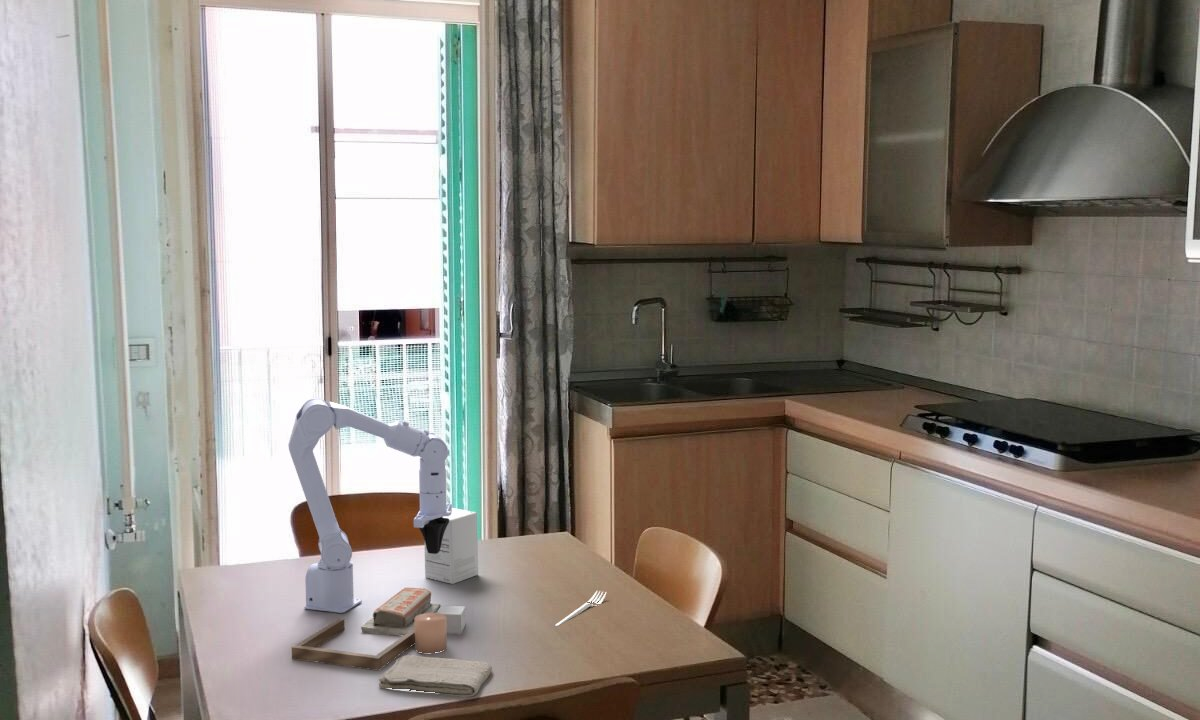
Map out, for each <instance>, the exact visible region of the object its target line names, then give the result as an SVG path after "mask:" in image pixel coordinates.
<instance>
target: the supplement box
mask: <svg viewBox="0 0 1200 720" xmlns="http://www.w3.org/2000/svg"><path fill="white" fill-rule="evenodd" d="M443 518H448V519H449V524H448V525H447V527H446V530H445V532H444V535H443V539H442V544H441V548H440V552H439V553H437V554H431V553H428V551H427V547H426V544H425V540H424V539H423V540H424V577H426V579H429V578H430V579H431V580H433V579H434V581H438V582H442V583H448V584H451V585H455V584H457V583H459V582H461V581H462V582H463V581H465V580H467V579H470V578H473V577H475V576H478V575H479V546H478V545H479V543H478V541H479V540H478V539H479V538H478V512H476V511H472V510H471V511H470V510H465V509H461V508H457V507H452V512H451V515H450V516H444V517H443Z"/></svg>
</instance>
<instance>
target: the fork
mask: <svg viewBox="0 0 1200 720" xmlns="http://www.w3.org/2000/svg"><path fill="white" fill-rule="evenodd" d="M603 593H604V591H603V590H602V591H601V590H599V591H598V590H596V591H595V592H594V594H593V595H592V596H591V598H589V600H588V601H587V602H590V603H591V601H592V603H593V602H594V603H596V604H600V605H601V604H602V602H603V603H604V600H605V598H606V595H607V591H605V593H604V594H603ZM598 601H599V602H598ZM587 602H585V603H584V604H582V605H581V606H580V607H579V608H577V609H575V610H574V611H572V612H571V613H570V614H569V615H567V616H565V618H563V619H561V620H560V621H559V622H557V623H556V624H554V626H556V627H558V626H560V625H562V624H563V623H565V622H567V621H569V620H570V619H572V618H574V617H576V616H577V615H579V614H581V613H582V612H583V611H585V610H587V609H588V608H589V607H592V608H594V607H593V606H595V607H597V605H593V604H590V603H587ZM597 602H598V603H597Z"/></svg>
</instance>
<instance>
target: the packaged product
mask: <svg viewBox="0 0 1200 720" xmlns="http://www.w3.org/2000/svg"><path fill="white" fill-rule="evenodd" d="M431 601H432V592H431V591H430V590H429V589H427V588H421V587H404V588H402V589H401V590H399V592H396V594H394V595H393V596H392V597H390V598H389V599H387V600H386V601H385V602H384V603H383V604H382V605H379V607H377V608H376V609H375V610H374V611H373V614H372V618H370V619H369V620H368V621H367V622H365V623H364V624H362V625H361V626H360V629H361V633H365V632H367V634H368V633H369V634H375V633H380V634H379V635H386V634H390V635H389V636H398V635H403V636H404V635H405V634H407V633H408V632H410V631H411V630H412V629H414V628H415V623H414V618H415V617H416V616H418V615H420V614H424V613H436V612H437V611H438V610H439V609H438V608H439V607H440V606H441V604H440V603H439V604H438V603H431ZM437 609H438V610H437Z"/></svg>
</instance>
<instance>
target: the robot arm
mask: <svg viewBox="0 0 1200 720" xmlns="http://www.w3.org/2000/svg"><path fill="white" fill-rule="evenodd" d="M332 427H333V428H334V429H335V430H340V429H344V428H347V427H349V428H352V429H356V430H357V431H358V430H359V431H361V432H364V433H366V434H370V435H372V436H375V437H379V438H381V439H383V440H384V442H385V443H384V444H385V445H386V447H388V448H391V449H393V450H395V451H398V452H401V453H403V454H407V455H409V456H412V457H420V458H419V471H418V477H419V478H418V479H419V481H418V482H419V488H418V489H419V511H418V512H417V514H416V516H415V517H414V518H413V528H417V529H418V528H419V529H418V530H420V533H421V535H422V537H423V540H425V544H426V547H427V551H428V553H431V554H437V553H439V552H440V548H441V544H442V539H443V535H444V532H445V530H446V527H447V525H448V524H449V519H448V518H443V517H444V516H450V515H451V512H452V508H453V506H452V505H453V504H452V503H447V470H446V463H447V462H446V460H447V459H448V456H449V450H448V445H447V444H446V442H445V441H444V440H442V438H441V437H440V436H438V435H436V434H435V433H433V432H430V431H429V430H427V429H424V430H421V429H418V428H415V427H414V426H410V423H409V421H406V420H402V422H401V421H397V420H396V421H394V422H392V423H386V422H384V421H382V420H379V419H377V418H374V417H372V416H370V415H367V414H366V413H363V412H360V411H358V410H356V409H353V408H351V407H349V406H346V405H343V404H339V403H336V402H333V401H329V402H328V401H326V400H324V399H322V398H318V397H314V398H311V399H308V400H306V402H304V404H303V405H302V406H301V407H300V409H299V410H298V412H297V413H296V415H295V420H294V424H293V427H292V430H291V434H290V438H289V442H288V451H289V454H290V457H291V459H292V463H293V466H294V469H295V471H296V474H297V476H298V480H299V482H300V486H301V488H302V491H303V494H304V497H305V499H306V503H307V506H308V508H309V511H310V514H311V517H312V519H313V523H314V525H315V528H316V531H317V535H318V537H319V539H318V549H319V551H320V560H319V561H318V562H315V563H312V564H310V565H309V566H308V569H307V570H306V574H305V605H304V606H303V609H305V610H314V611H323V612H330V613H338V614H339V613H340V614H343V613H346V612H347V611H349V610H351V609H352V608H354V607H356V606H357V605H359V604H360V603H362V602H363V601H362V600H363V599H359V598H355V597H354V562H353V560H352V556H353V549H352V547H351V545H350V542H349V537H348V535H347V534H346V533H345V531H343V530H342V529H341V528H340V525H339V523H338V520H337V517H336V514H335V512H334V509H333V506H332V504H331V499H330V497H329V495H328V491H327V488H326V486H325V483H324V480H323V477H322V474H321V471H320V468H319V466H318V465H319V464H318V463H317V459H316V456H315V453H314V449H315V448H316V446H317V444H318V442H319V440H320V439H321V438H322V437H323V436H324V435H326V434H327V433H328V432H329V431H331V429H332ZM425 544H424V545H425Z"/></svg>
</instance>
